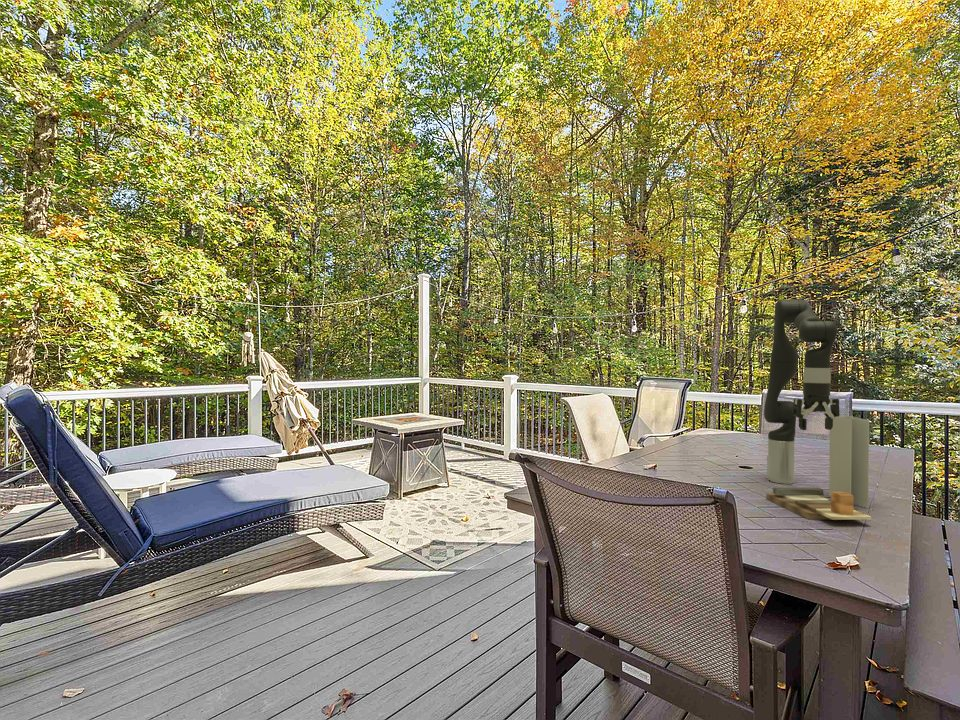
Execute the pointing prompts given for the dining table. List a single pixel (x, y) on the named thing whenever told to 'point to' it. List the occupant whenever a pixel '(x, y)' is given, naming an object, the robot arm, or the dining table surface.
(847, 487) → the folded green panel
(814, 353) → the robot arm
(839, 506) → the wooden block on base
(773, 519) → the dining table surface
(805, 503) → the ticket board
